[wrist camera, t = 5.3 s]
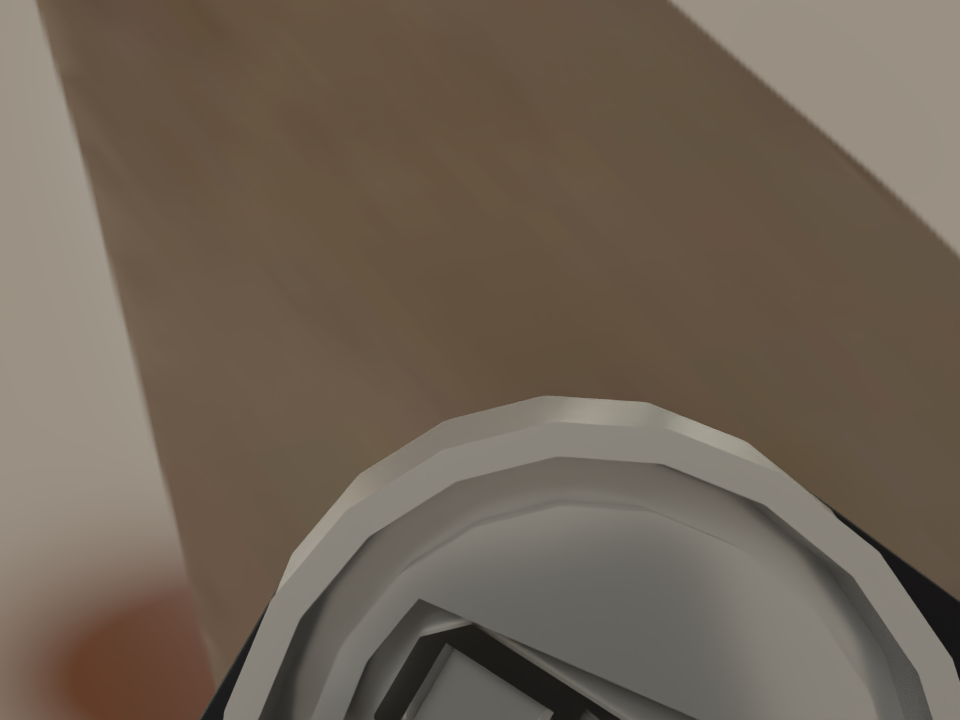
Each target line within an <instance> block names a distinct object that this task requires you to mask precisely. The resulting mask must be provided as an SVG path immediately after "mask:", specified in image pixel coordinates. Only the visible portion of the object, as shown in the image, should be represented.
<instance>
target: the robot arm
mask: <svg viewBox="0 0 960 720" xmlns="http://www.w3.org/2000/svg"><path fill="white" fill-rule="evenodd" d="M798 484H799V483H798ZM801 486H802V485H801ZM802 487H803V486H802ZM803 488H804V487H803ZM805 489H806V488H805ZM806 490H807V489H806ZM807 491H808V490H807ZM808 492H810V491H808ZM810 493H811V492H810ZM811 494H812V493H811ZM812 495H813V496H815V495H814V494H812ZM815 497H816V498H817V499H818V500H820V501H821V502H822V503H823V504H825V505H826V506H827V507H828V508H830V509H831V510H832V512H833V513H834V514H835V516H836V517H837V519H839V520H840V521H841V522H842V523H844V524H845V525H846V526H847V527H849V528H850V529H851V530H852V531H854V532H855V533H856V534H857V535H859V536H860V537H861V538H862V539H864V540H865V541H866V542H867V543H869V544H870V545H871V546H872V547H874V548H875V549H876V550H877V551H878V552H879V553H880V554H881V555H882V557H883V558H884V560H885V561H886V563H887V564H888V566H889V567H890V569H891V570H892V571H893V573H894V574H895V576H896V577H897V579H898V580H899V582H900V583H901V585H902V586H903V587H904V589H905V590H906V592H907V593H908V595H909V596H910V598H911V599H912V601H913V602H914V604H915V605H916V606H917V608H918V609H919V611H920V612H921V614H922V615H923V617H924V618H925V620H926V621H927V622H928V624H929V625H930V627H931V628H932V630H933V631H934V633H935V634H936V636H937V637H938V639H939V640H940V641H941V643H942V644H943V646H944V647H945V649H946V650H947V652H948V653H949V655H950V656H951V657H952V659H953V662H954V665H955V668H956V671H957V674H958V678H959V681H960V601H959V600H958V599H956V598H955V597H954V596H952V595H951V594H950V593H948V592H947V591H945V590H944V589H943V588H941V587H940V586H939V585H937V584H936V583H934V582H933V581H932V580H930V579H929V578H928V577H926V576H925V575H923V574H922V573H921V572H919V571H918V570H917V569H915V568H914V567H913V566H911V565H910V564H908V563H907V562H906V561H904V560H903V559H902V558H900V557H899V556H897V555H896V554H895V553H893V552H892V551H891V550H889V549H888V548H886V547H885V546H884V545H882V544H881V543H880V542H878V541H877V540H876V539H874V538H873V537H871V536H870V535H869V534H867V533H866V532H865V531H863V530H862V529H860V528H859V527H858V526H856V525H855V524H854V523H852V522H851V521H849V520H848V519H847V518H845V517H844V516H843V515H841V514H840V513H839V512H837V511H836V510H834V509H833V508H832V507H830V506H829V505H828V504H826V503H825V502H823V501H822V500H821V499H819V498H818V497H817V496H815ZM278 587H279V586H278ZM277 589H278V588H277ZM276 591H277V590H276ZM276 591H275V593H274V595H273V596H272V598H273V597H274V596H275V594H276ZM272 598H271V599H272ZM270 601H271V600H270ZM270 601H269V603H270ZM269 603H268V605H267V606H266V608H265V610H264V611H263V613H262V615H261V617H260V618H259V620H258V622H257V623H256V625H255V627H254V628H253V630H252V632H251V633H250V635H249V637H248V639H247V640H246V642H245V644H244V645H243V647H242V649H241V650H240V652H239V654H238V655H237V657H236V659H235V661H234V662H233V664H232V666H231V667H230V669H229V671H228V672H227V674H226V676H225V677H224V679H223V681H222V682H221V684H220V686H219V688H218V689H217V691H216V693H215V694H214V696H213V698H212V699H211V701H210V703H209V705H208V706H207V708H206V710H205V711H204V713H203V715H202V716H201V718H200V720H223V718H224V711H225V708H226V706H227V704H228V701H229V699H230V696H231V694H232V692H233V689H234V687H235V684H236V682H237V680H238V677H239V675H240V673H241V670H242V668H243V665H244V663H245V661H246V658H247V656H248V653H249V651H250V649H251V646H252V644H253V642H254V639H255V637H256V634H257V632H258V630H259V627H260V625H261V622H262V620H263V618H264V615H265V613H266V611H267V608H268V606H269Z"/></svg>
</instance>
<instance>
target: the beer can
mask: <svg viewBox="0 0 960 720" xmlns="http://www.w3.org/2000/svg"><path fill="white" fill-rule="evenodd" d="M223 720H960V681H959V678H958V674H957V671H956V668H955V665H954V662H953V659H952V657H951V656H950V655H949V653H948V652H947V650H946V649H945V647H944V646H943V644H942V643H941V641H940V640H939V639H938V637H937V636H936V634H935V633H934V631H933V630H932V628H931V627H930V625H929V624H928V622H927V621H926V620H925V618H924V617H923V615H922V614H921V612H920V611H919V609H918V608H917V606H916V605H915V604H914V602H913V601H912V599H911V598H910V596H909V595H908V593H907V592H906V590H905V589H904V587H903V586H902V585H901V583H900V582H899V580H898V579H897V577H896V576H895V574H894V573H893V571H892V570H891V569H890V567H889V566H888V564H887V563H886V561H885V560H884V558H883V557H882V555H881V554H880V553H879V552H878V551H877V550H876V549H875V548H874V547H872V546H871V545H870V544H869V543H867V542H866V541H865V540H864V539H862V538H861V537H860V536H859V535H857V534H856V533H855V532H854V531H852V530H851V529H850V528H849V527H847V526H846V525H845V524H844V523H842V522H841V521H840V520H839V519H837V517H836V516H835V514H834V513H833V512H832V510H831V509H830V508H828V507H827V506H826V505H825V504H823V503H822V502H821V501H820V500H818V499H817V498H816V497H815V496H813V495H812V494H811V493H810V492H808V491H807V490H806V489H805V488H803V487H802V486H801V485H800V484H798V483H797V482H796V481H795V480H793V479H792V478H791V477H790V476H788V475H787V474H786V473H785V472H783V471H782V470H781V469H780V468H778V467H777V466H776V465H775V464H773V463H772V462H771V461H770V460H768V459H767V458H766V457H765V456H763V455H762V454H761V453H760V452H759V451H757V450H756V449H755V448H754V447H752V446H751V445H750V444H749V443H747V442H746V441H744V440H741V439H739V438H736V437H734V436H731V435H728V434H726V433H723V432H721V431H718V430H716V429H713V428H711V427H708V426H706V425H703V424H701V423H698V422H695V421H693V420H690V419H688V418H685V417H683V416H680V415H678V414H675V413H673V412H670V411H667V410H665V409H662V408H660V407H657V406H655V405H652V404H650V403H647V402H633V401H618V400H603V399H588V398H573V397H558V396H540V397H536V398H532V399H528V400H524V401H520V402H516V403H512V404H508V405H504V406H501V407H497V408H493V409H489V410H485V411H481V412H477V413H473V414H469V415H465V416H461V417H457V418H453V419H449V420H445V421H444V422H442V423H440V424H439V425H437V426H436V427H434V428H432V429H431V430H429V431H428V432H426V433H424V434H423V435H421V436H420V437H418V438H417V439H415V440H413V441H412V442H410V443H409V444H407V445H405V446H404V447H402V448H401V449H399V450H397V451H396V452H394V453H393V454H391V455H389V456H388V457H386V458H385V459H383V460H381V461H380V462H378V463H377V464H375V465H374V466H372V467H370V468H369V469H367V470H366V471H364V472H362V473H361V474H359V475H358V476H357V478H356V479H355V480H354V481H353V482H352V484H351V485H350V486H349V487H348V488H347V489H346V491H345V492H344V493H343V494H342V495H341V497H340V498H339V499H338V500H337V501H336V503H335V504H334V505H333V506H332V507H331V509H330V510H329V511H328V512H327V513H326V514H325V516H324V517H323V518H322V519H321V520H320V522H319V523H318V524H317V525H316V526H315V528H314V529H313V530H312V531H311V532H310V533H309V535H308V536H307V537H306V538H305V539H304V541H303V542H302V543H301V544H300V545H299V547H298V548H297V549H296V550H295V551H294V552H293V554H292V556H291V558H290V560H289V563H288V565H287V568H286V570H285V572H284V575H283V577H282V580H281V582H280V584H279V587H278V589H277V591H276V594H275V596H274V597H273V598H272V599H271V601H270V603H269V606H268V608H267V611H266V613H265V615H264V618H263V620H262V622H261V625H260V627H259V630H258V632H257V634H256V637H255V639H254V642H253V644H252V646H251V649H250V651H249V653H248V656H247V658H246V661H245V663H244V665H243V668H242V670H241V673H240V675H239V677H238V680H237V682H236V684H235V687H234V689H233V692H232V694H231V696H230V699H229V701H228V704H227V706H226V708H225V711H224V718H223Z"/></svg>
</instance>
